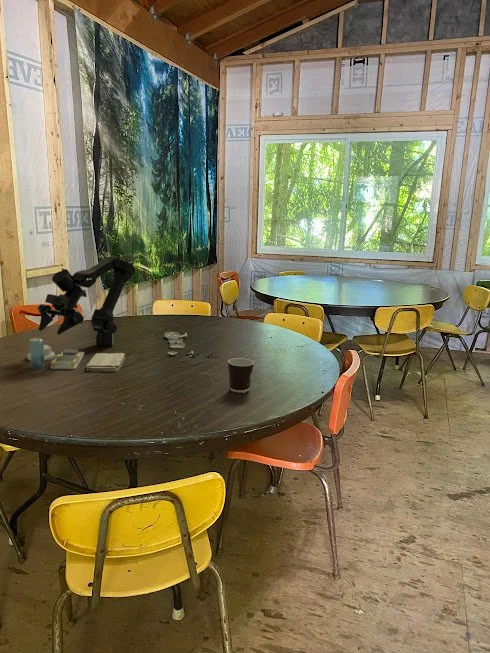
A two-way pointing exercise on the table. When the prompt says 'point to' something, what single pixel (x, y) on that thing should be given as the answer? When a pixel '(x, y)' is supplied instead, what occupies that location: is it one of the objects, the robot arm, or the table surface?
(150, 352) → the table surface
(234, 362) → the dark brown cup
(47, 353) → the mechanical component
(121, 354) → the washcloth
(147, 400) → the table surface
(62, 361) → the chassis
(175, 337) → the drone parts
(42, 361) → the cylinder
